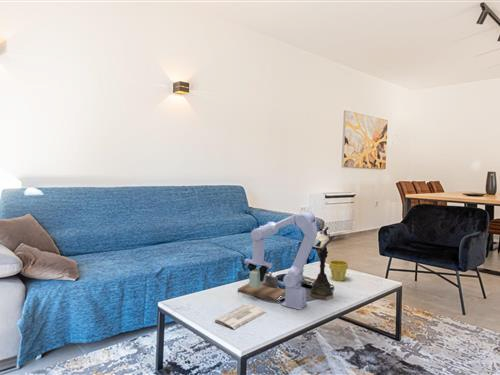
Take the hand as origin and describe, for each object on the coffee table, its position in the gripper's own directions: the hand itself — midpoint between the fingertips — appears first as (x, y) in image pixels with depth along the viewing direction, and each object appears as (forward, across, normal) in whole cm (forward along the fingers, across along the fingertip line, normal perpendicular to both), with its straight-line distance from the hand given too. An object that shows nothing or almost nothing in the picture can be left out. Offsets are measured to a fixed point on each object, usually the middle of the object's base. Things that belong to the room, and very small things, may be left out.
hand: (257, 279), depth 175 cm
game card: (+9, +7, -18) cm, 21 cm away
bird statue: (+9, -26, -17) cm, 32 cm away
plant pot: (+9, -25, -49) cm, 55 cm away
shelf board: (+8, 0, -6) cm, 11 cm away
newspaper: (+9, -5, +24) cm, 26 cm away
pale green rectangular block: (+2, 0, 0) cm, 2 cm away
